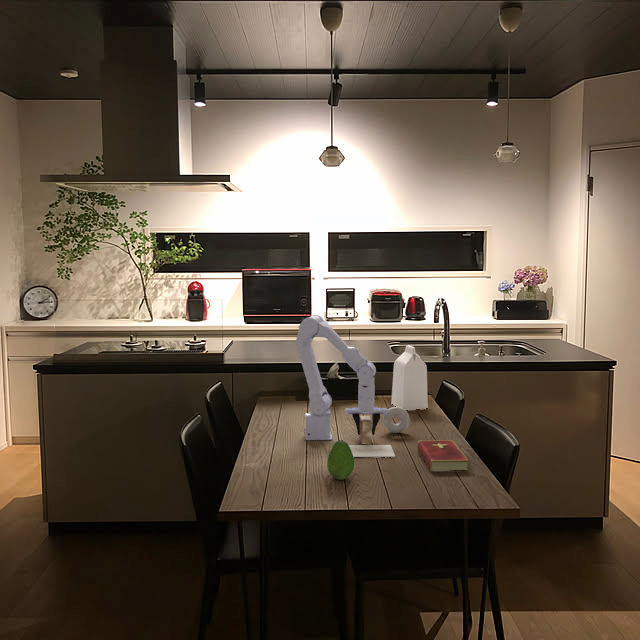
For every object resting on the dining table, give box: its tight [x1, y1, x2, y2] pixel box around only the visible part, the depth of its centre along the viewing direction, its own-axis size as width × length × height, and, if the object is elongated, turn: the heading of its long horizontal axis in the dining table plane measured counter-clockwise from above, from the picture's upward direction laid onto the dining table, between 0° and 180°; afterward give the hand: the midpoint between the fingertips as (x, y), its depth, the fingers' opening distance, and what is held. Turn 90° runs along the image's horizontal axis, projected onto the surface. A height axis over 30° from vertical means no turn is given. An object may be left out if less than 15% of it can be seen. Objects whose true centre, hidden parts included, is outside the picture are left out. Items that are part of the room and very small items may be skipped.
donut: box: [382, 406, 411, 434], centre depth 249 cm, size 10×4×10 cm, turn 91°
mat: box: [348, 444, 396, 459], centre depth 228 cm, size 16×12×1 cm
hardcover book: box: [417, 439, 470, 473], centre depth 219 cm, size 12×21×4 cm, turn 3°
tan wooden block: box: [359, 415, 373, 445], centre depth 240 cm, size 4×9×8 cm, turn 1°
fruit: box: [326, 439, 355, 481], centre depth 202 cm, size 8×8×12 cm
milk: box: [390, 344, 429, 411], centre depth 287 cm, size 12×12×26 cm
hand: (365, 434), depth 240 cm, fingers open, 4 cm apart
